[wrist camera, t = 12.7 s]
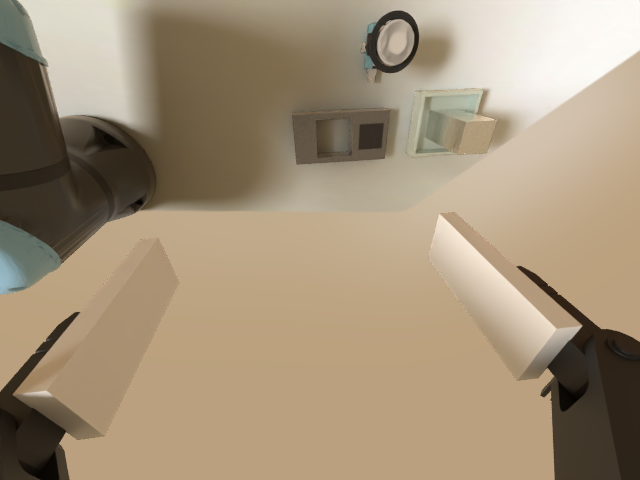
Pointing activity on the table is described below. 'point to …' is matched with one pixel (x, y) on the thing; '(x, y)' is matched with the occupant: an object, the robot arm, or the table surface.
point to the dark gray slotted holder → (363, 135)
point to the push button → (390, 43)
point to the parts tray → (430, 101)
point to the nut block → (460, 131)
